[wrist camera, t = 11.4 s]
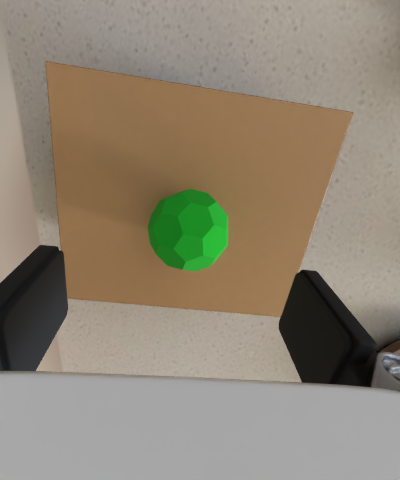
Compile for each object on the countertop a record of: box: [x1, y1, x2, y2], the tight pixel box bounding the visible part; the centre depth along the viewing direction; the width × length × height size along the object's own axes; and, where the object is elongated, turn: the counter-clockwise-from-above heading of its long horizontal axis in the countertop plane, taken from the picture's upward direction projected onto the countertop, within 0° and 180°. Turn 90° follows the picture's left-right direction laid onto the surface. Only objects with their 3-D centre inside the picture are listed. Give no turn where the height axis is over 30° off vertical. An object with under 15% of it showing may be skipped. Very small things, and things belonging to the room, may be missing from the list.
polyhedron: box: [148, 189, 228, 272], centre depth 17 cm, size 5×5×5 cm
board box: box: [46, 61, 353, 317], centre depth 22 cm, size 18×16×7 cm
